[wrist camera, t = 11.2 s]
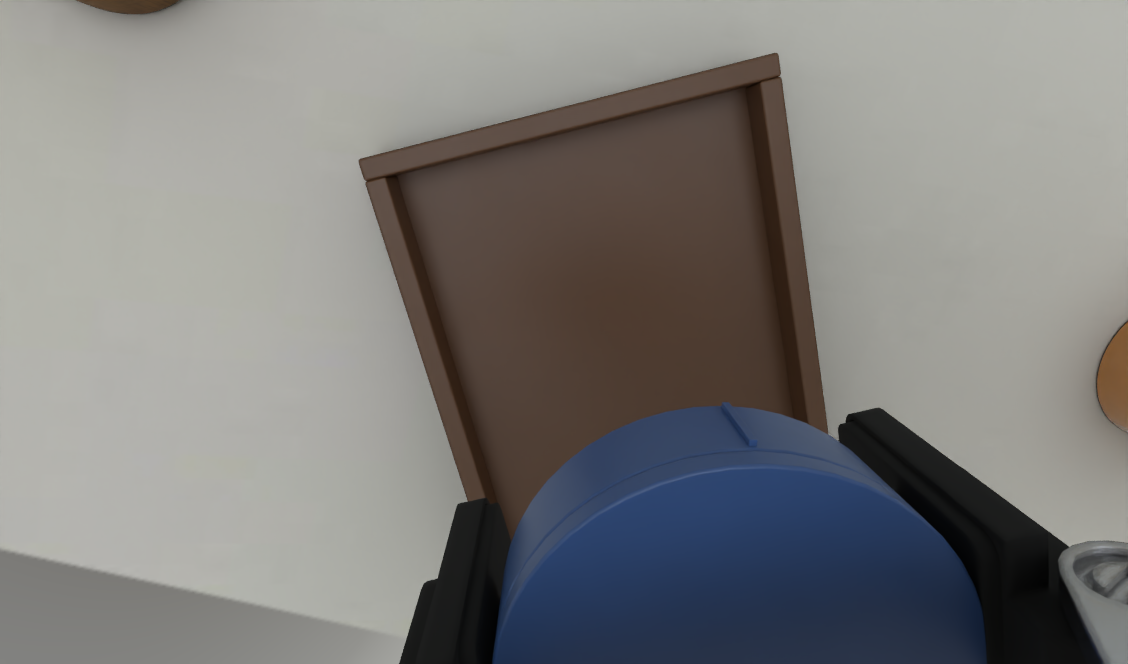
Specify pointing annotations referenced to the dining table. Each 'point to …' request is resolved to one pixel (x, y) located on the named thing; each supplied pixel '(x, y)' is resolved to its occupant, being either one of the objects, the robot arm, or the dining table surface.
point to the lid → (730, 555)
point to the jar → (1115, 380)
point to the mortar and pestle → (130, 5)
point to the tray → (603, 271)
